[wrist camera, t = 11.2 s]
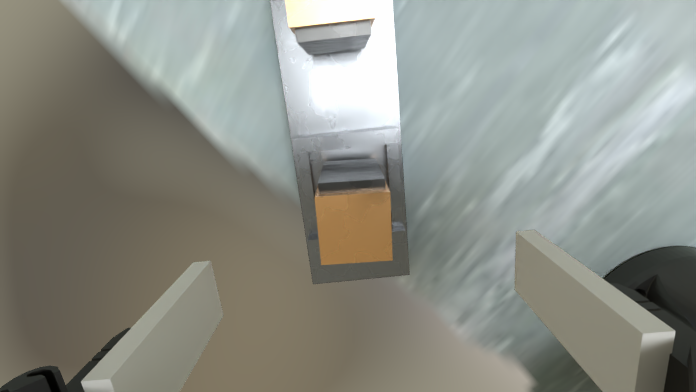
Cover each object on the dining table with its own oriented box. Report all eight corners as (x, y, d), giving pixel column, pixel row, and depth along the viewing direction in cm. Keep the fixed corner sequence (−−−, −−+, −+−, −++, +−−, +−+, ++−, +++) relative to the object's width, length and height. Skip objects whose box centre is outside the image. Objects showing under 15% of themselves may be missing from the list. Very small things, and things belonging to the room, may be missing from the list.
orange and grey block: (379, 212, 27) (392, 260, 20) (327, 216, 27) (321, 265, 20) (376, 154, 26) (389, 180, 18) (322, 157, 26) (313, 186, 18)
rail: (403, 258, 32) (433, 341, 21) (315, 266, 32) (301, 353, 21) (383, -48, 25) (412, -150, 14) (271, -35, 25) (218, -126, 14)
